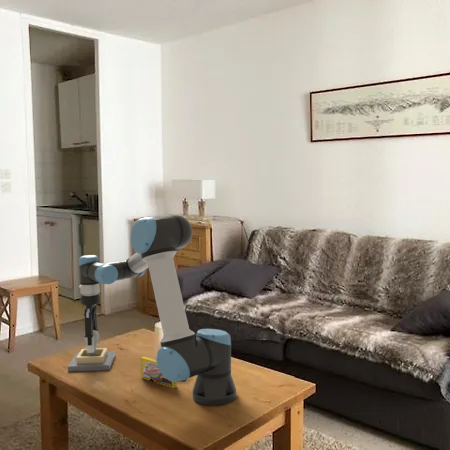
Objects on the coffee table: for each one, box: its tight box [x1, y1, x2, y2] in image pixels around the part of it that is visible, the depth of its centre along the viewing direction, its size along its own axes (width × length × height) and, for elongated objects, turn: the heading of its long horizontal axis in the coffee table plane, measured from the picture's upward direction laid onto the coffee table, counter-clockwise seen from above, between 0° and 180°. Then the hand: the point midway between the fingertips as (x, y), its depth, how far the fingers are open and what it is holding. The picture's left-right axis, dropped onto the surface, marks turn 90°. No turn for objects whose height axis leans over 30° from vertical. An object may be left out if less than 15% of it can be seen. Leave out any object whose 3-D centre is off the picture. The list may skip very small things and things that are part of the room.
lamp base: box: [67, 347, 116, 372], centre depth 213 cm, size 16×16×4 cm
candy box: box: [140, 356, 178, 389], centre depth 193 cm, size 16×2×8 cm, turn 54°
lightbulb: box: [83, 330, 100, 356], centre depth 212 cm, size 6×6×11 cm
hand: (92, 349), depth 212 cm, fingers closed on lightbulb, 6 cm apart
